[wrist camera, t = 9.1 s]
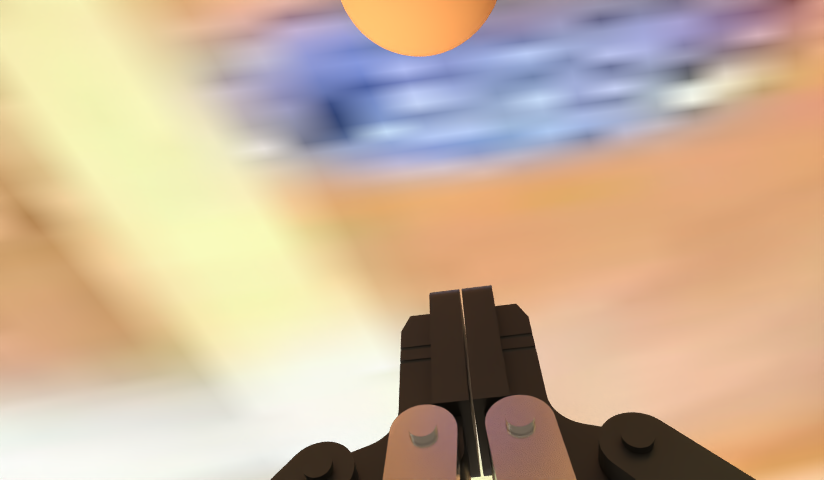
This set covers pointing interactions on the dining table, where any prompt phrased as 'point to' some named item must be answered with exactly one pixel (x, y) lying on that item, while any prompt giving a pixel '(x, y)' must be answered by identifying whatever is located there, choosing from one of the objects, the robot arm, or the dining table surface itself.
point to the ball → (418, 23)
